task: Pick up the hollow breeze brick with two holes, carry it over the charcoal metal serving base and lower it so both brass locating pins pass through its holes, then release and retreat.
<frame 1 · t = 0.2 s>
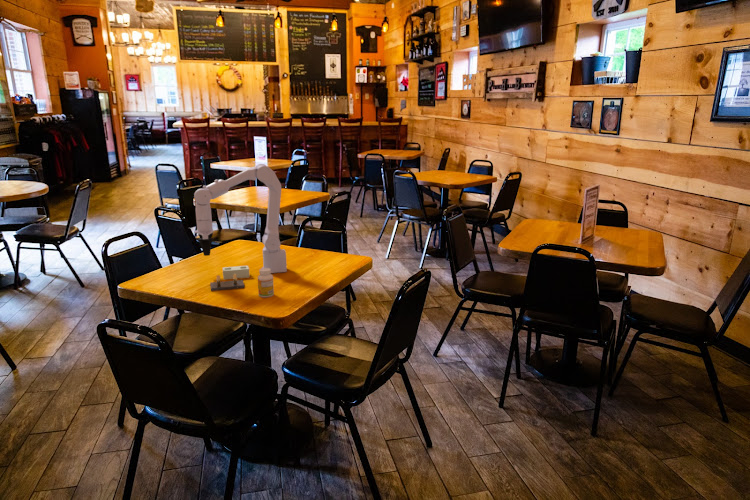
hand: (206, 253, 201), 10 cm above the table, fingers open, 7 cm apart
base: (227, 286, 191), on the table
supplement bottle: (266, 295, 182), on the table
hollow breeze brick: (236, 276, 203), on the table
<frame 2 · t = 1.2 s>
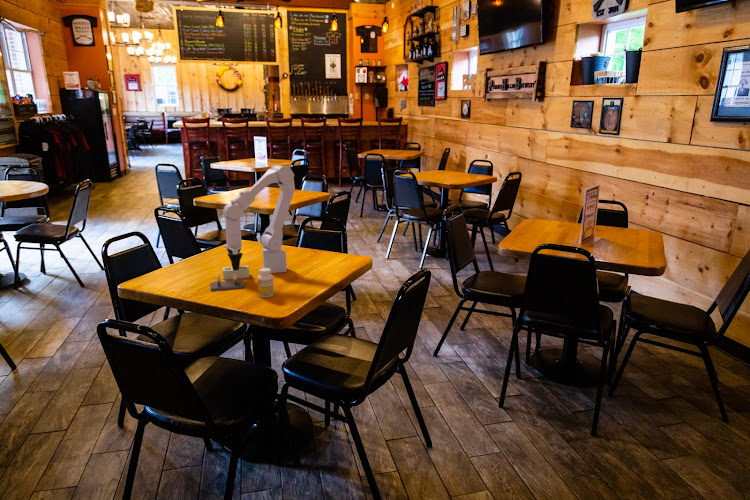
hand: (235, 267, 202), 4 cm above the table, fingers open, 7 cm apart
nothing on the table moved.
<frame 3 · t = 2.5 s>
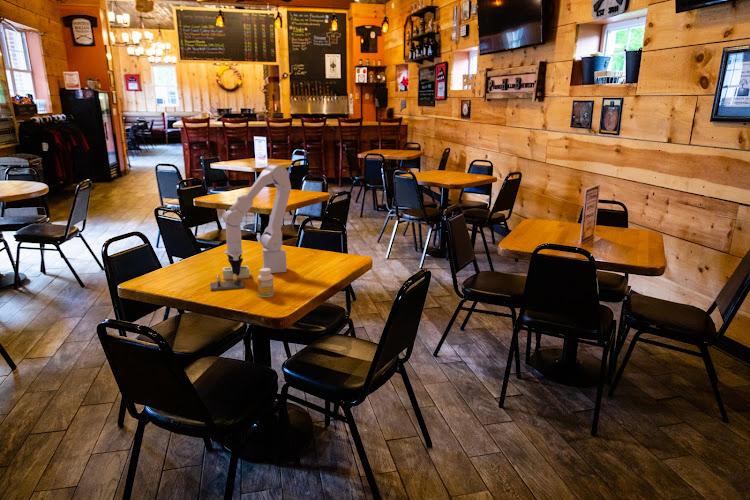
hand: (236, 273, 203), 1 cm above the table, fingers closed on hollow breeze brick, 5 cm apart
hollow breeze brick: (236, 276, 203), on the table, touching gripper
everything else where it was.
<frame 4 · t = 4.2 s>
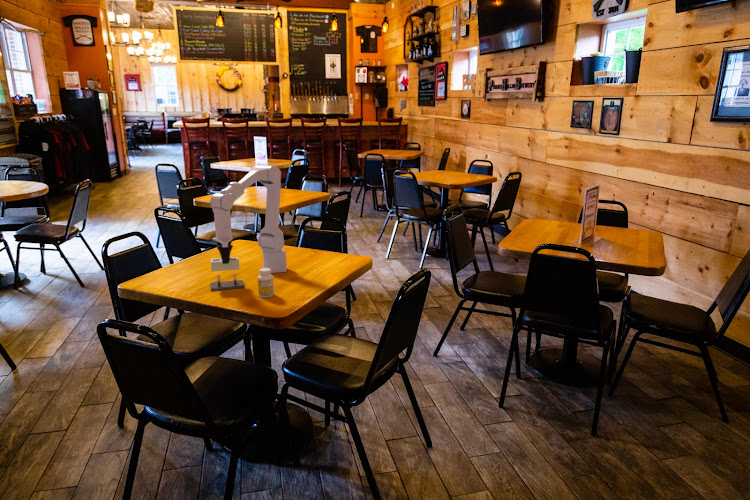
hand: (225, 261, 189), 10 cm above the table, fingers closed on hollow breeze brick, 5 cm apart
hollow breeze brick: (225, 268, 189), point 7 cm above the table, touching gripper
everything else where it was.
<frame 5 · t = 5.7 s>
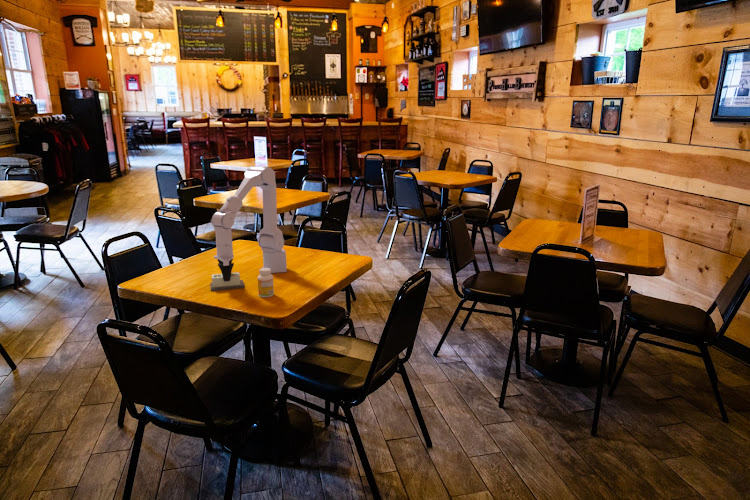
hand: (226, 278, 190), 3 cm above the table, fingers closed on hollow breeze brick, 5 cm apart
hollow breeze brick: (226, 284, 191), point 1 cm above the table, touching base, gripper
everything else where it was.
when the fingers open (3 cm above the table, at t = 6.4 s): hollow breeze brick stays where it is, resting on base.
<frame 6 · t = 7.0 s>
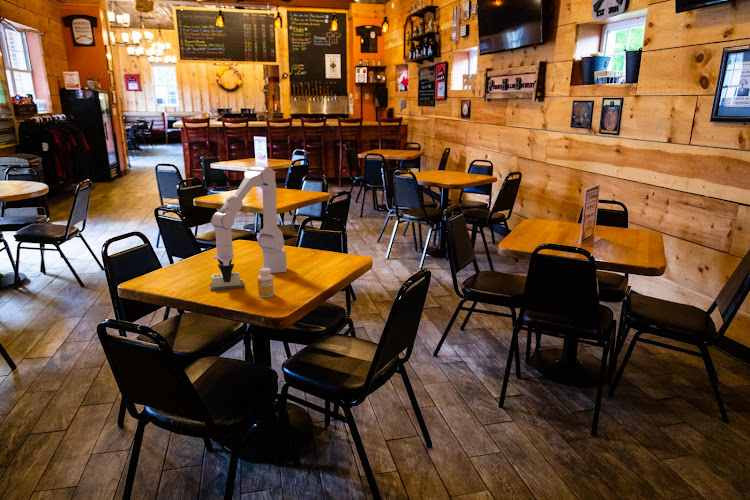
hand: (226, 279, 190), 3 cm above the table, fingers open, 7 cm apart
hollow breeze brick: (226, 284, 191), point 1 cm above the table, touching base
everything else where it was.
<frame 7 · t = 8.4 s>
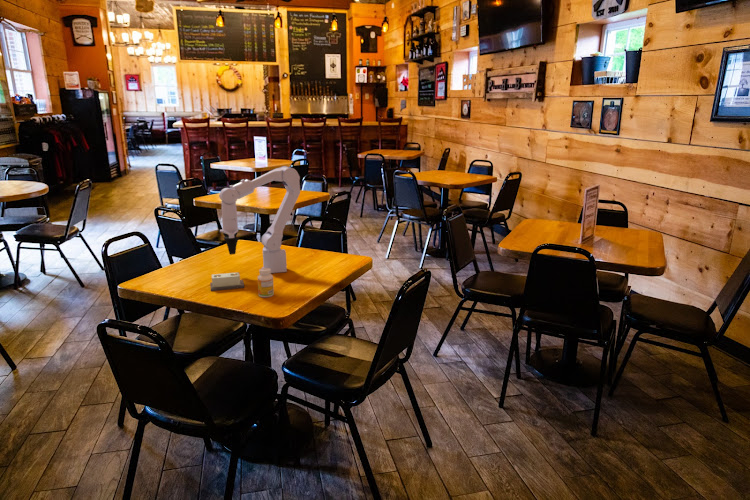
hand: (231, 251, 202), 10 cm above the table, fingers open, 7 cm apart
nothing on the table moved.
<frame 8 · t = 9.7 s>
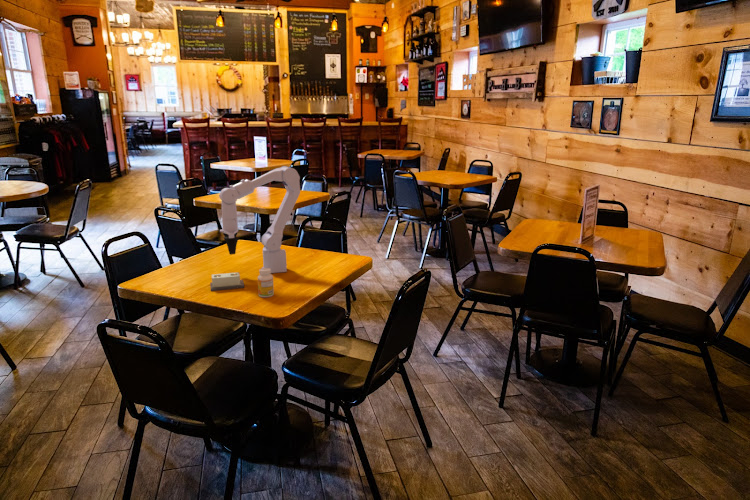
hand: (231, 251, 202), 10 cm above the table, fingers open, 7 cm apart
nothing on the table moved.
at the end: hollow breeze brick 0.3 cm off-centre on the base, point 1.0 cm above the base's base; hollow breeze brick tilted 0°; the gripper is holding nothing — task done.
